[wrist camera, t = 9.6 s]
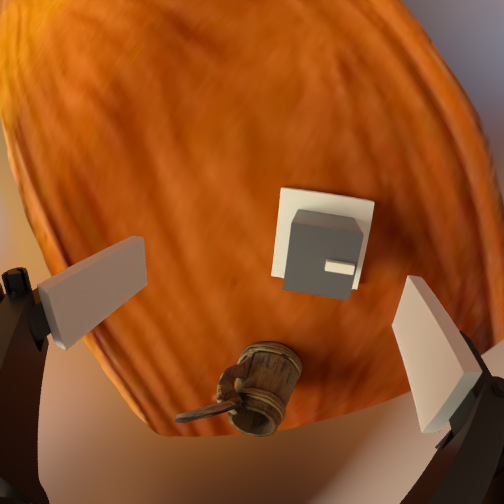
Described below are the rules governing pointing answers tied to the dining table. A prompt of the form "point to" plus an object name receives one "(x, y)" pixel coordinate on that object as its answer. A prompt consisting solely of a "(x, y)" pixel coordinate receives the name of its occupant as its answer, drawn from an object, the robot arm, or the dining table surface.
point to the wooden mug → (254, 390)
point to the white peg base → (324, 204)
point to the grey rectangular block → (322, 254)
